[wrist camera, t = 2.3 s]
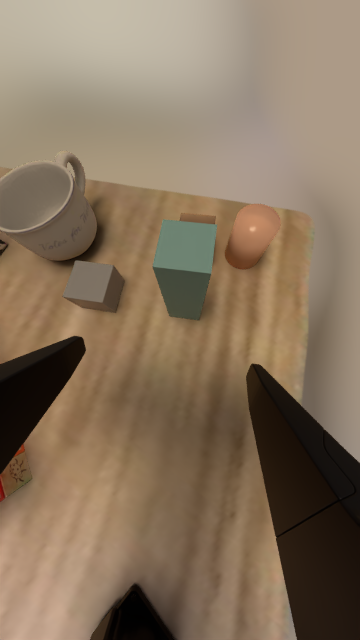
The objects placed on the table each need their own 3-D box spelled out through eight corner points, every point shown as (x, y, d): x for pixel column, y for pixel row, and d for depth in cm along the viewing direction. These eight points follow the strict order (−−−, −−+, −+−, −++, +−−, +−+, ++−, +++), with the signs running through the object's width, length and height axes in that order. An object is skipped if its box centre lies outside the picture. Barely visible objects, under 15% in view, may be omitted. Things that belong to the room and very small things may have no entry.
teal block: (198, 320, 23) (211, 273, 11) (169, 316, 23) (152, 266, 12) (202, 292, 24) (217, 224, 12) (174, 289, 24) (163, 219, 13)
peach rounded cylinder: (266, 253, 25) (289, 219, 20) (244, 275, 24) (262, 247, 19) (239, 234, 26) (254, 197, 21) (218, 255, 26) (227, 222, 20)
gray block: (115, 312, 24) (102, 302, 20) (82, 307, 24) (62, 296, 20) (124, 280, 25) (113, 265, 21) (92, 276, 26) (75, 260, 22)
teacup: (74, 282, 25) (24, 246, 18) (23, 250, 27) (-42, 203, 19) (130, 216, 28) (109, 159, 20) (81, 191, 30) (44, 130, 22)
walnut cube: (207, 266, 25) (212, 245, 21) (177, 263, 26) (175, 241, 21) (210, 241, 26) (215, 216, 22) (182, 237, 27) (181, 212, 22)
